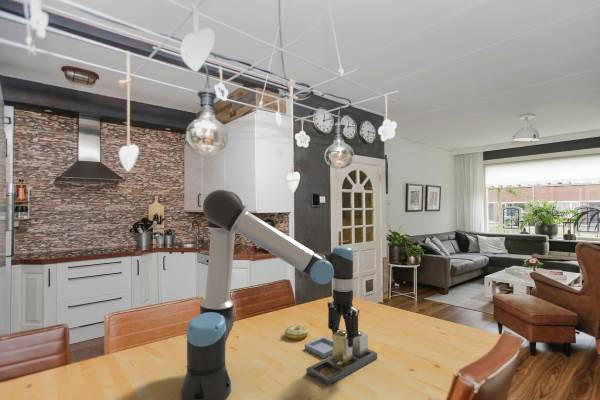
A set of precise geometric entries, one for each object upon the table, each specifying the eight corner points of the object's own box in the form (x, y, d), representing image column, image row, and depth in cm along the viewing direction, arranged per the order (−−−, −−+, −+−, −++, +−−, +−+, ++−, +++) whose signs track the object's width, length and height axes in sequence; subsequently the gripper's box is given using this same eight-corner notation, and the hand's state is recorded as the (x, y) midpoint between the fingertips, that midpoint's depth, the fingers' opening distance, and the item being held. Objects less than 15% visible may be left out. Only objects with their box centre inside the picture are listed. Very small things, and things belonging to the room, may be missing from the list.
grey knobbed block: (360, 362, 116) (359, 336, 116) (349, 357, 120) (349, 332, 120) (367, 358, 120) (367, 332, 120) (357, 353, 123) (357, 328, 124)
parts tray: (324, 358, 119) (324, 353, 119) (304, 348, 127) (304, 344, 127) (342, 349, 126) (342, 344, 127) (323, 341, 135) (323, 336, 135)
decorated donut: (312, 334, 143) (312, 326, 143) (301, 343, 133) (301, 334, 133) (293, 329, 148) (293, 321, 148) (280, 338, 138) (280, 329, 139)
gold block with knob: (343, 363, 110) (343, 335, 111) (332, 358, 114) (333, 331, 114) (352, 358, 114) (352, 332, 114) (341, 354, 117) (341, 328, 118)
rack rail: (327, 386, 101) (327, 380, 101) (306, 374, 108) (306, 368, 108) (377, 358, 119) (377, 352, 119) (356, 349, 127) (356, 344, 127)
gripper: (369, 292, 110) (369, 358, 110) (331, 282, 124) (331, 341, 123) (355, 296, 105) (355, 365, 105) (318, 285, 119) (318, 346, 118)
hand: (342, 352), depth 114 cm, fingers closed on gold block with knob, 5 cm apart
